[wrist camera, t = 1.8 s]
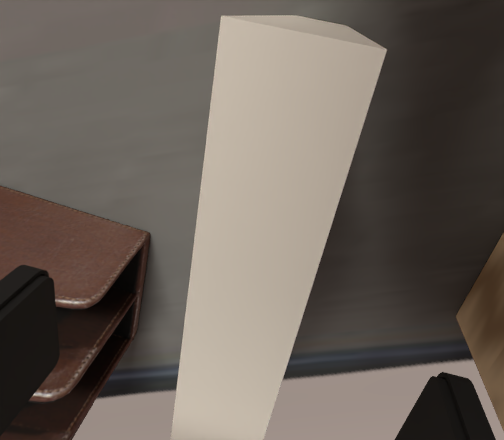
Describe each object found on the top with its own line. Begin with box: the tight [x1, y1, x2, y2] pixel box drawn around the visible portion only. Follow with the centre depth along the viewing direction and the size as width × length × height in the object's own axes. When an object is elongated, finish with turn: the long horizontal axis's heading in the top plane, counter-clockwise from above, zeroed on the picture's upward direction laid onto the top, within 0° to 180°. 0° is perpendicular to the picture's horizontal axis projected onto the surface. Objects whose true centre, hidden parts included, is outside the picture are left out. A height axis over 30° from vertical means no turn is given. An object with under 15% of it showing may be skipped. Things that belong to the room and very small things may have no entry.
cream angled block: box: [171, 15, 387, 440], centre depth 16 cm, size 14×2×15 cm, turn 170°
